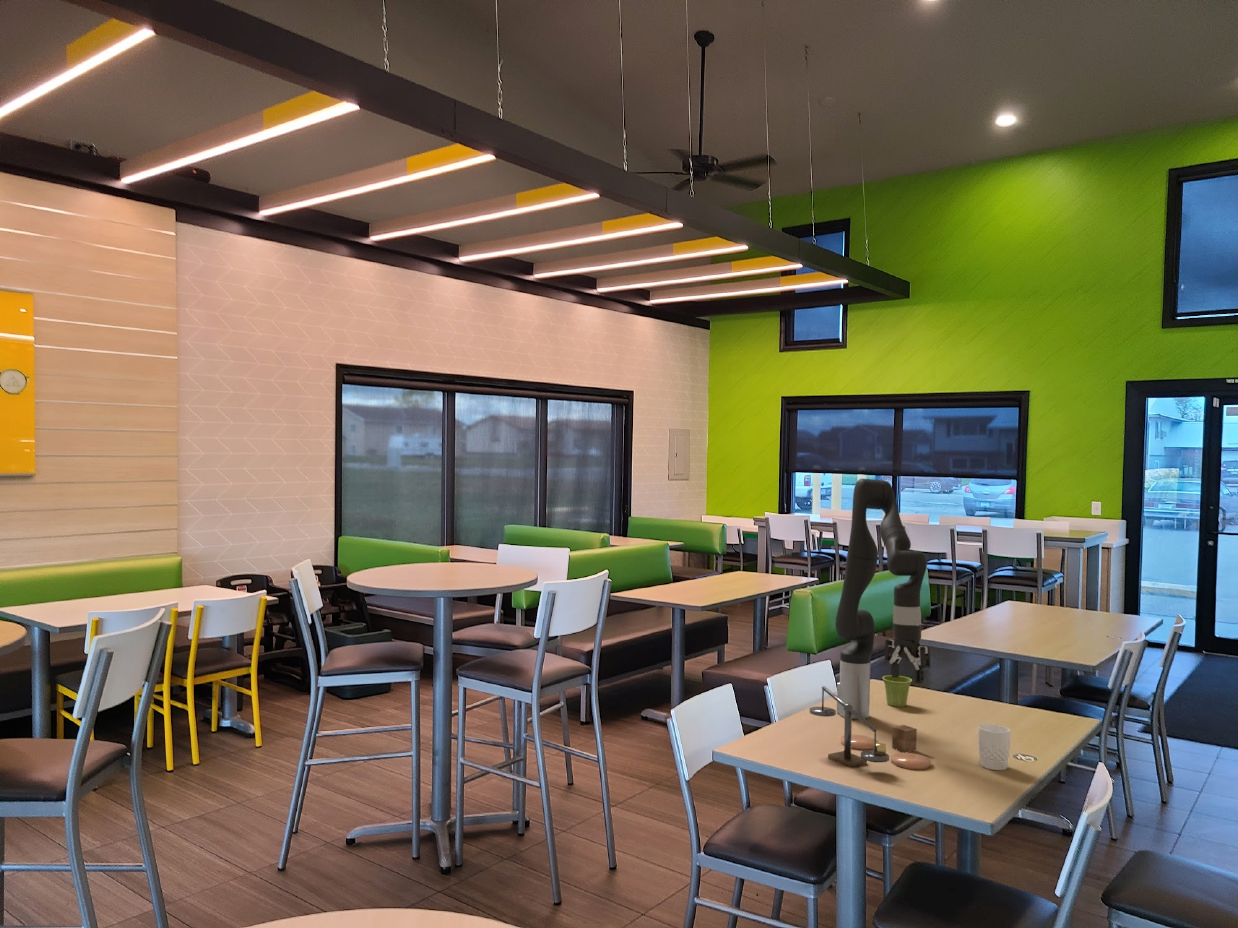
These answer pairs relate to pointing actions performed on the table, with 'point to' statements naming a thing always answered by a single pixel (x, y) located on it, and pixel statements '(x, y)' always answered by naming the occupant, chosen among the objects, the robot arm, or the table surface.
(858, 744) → the dish left
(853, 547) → the robot arm
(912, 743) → the walnut block
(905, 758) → the dish right
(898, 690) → the plant pot
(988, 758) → the white cup
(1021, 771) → the table surface
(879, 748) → the balance
